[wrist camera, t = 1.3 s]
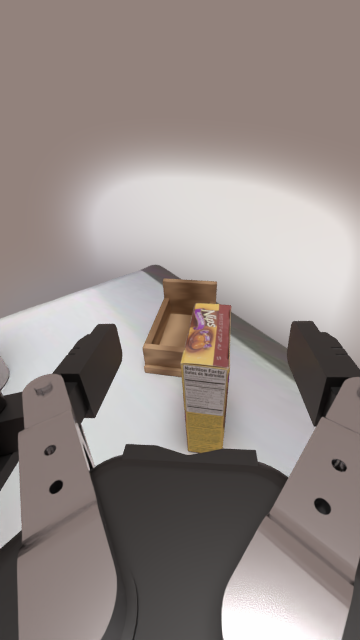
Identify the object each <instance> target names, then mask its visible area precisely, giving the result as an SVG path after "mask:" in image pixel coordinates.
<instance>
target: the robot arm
mask: <svg viewBox="0 0 360 640" xmlns="http://www.w3.org/2000/svg"><path fill="white" fill-rule="evenodd" d="M287 360H288V364H289V367H290V369H291V372H292V374H293V377H294V379H295V381H296V384H297V386H298V389H299V391H300V394H301V396H302V399H303V401H304V403H305V406H306V408H307V411H308V413H309V416H310V418H311V421H312V423H313V425H314V426H316V428H315V430H314V432H313V434H312V436H311V438H310V439H309V441H308V443H307V445H306V447H305V449H304V450H303V452H302V454H301V456H300V458H299V460H298V461H297V463H296V465H295V467H294V469H293V471H292V472H291V474H290V476H289V478H288V477H287V476H286V475H284V474H283V473H281V472H280V471H278V470H276V469H275V468H273V467H271V466H268V465H266V464H264V463H261V462H258V461H257V455H256V450H240V449H218V450H213V451H208V452H203V453H198V454H193V455H185V454H182V453H178V452H175V451H172V450H169V449H166V448H163V447H159V446H155V445H134V444H126V446H125V449H124V452H123V455H120V456H116V457H113V458H111V459H108V460H106V461H104V462H102V463H101V464H99V465H97V466H96V467H95V465H94V462H93V459H92V456H91V453H90V449H89V446H88V443H87V440H86V437H85V434H84V431H83V428H82V425H81V423H82V421H83V419H84V418H95V417H96V415H97V413H98V411H99V408H100V406H101V404H102V402H103V400H104V398H105V396H106V394H107V392H108V390H109V387H110V385H111V383H112V381H113V379H114V377H115V375H116V373H117V371H118V369H119V366H120V364H121V362H122V349H121V344H120V340H119V336H118V332H117V328H116V325H115V324H98V325H97V326H96V327H95V329H94V330H93V331H92V332H91V334H87V335H86V336H85V337H83V338H82V339H80V340H79V341H78V342H77V343H76V344H75V346H74V347H73V349H71V351H70V352H69V353H68V355H67V356H66V357H65V358H64V359H63V361H62V362H61V363H60V364H59V366H58V367H57V368H56V369H55V371H54V372H53V373H52V374H48V375H44V376H41V377H38V378H36V379H35V380H33V381H31V382H30V383H29V384H28V385H27V386H26V387H25V388H24V390H23V392H19V393H14V394H10V395H5V396H3V395H2V393H1V391H0V491H1V489H2V487H3V486H4V484H5V482H6V481H7V479H8V477H9V476H10V474H11V473H12V471H13V469H14V468H15V466H16V464H17V463H18V461H19V473H20V497H21V521H22V530H21V531H20V532H19V533H18V534H17V535H16V536H14V537H13V538H12V539H11V540H10V541H9V542H8V543H6V544H5V545H4V546H3V547H2V548H1V549H0V640H360V369H359V368H358V367H357V365H356V364H355V363H354V361H353V360H352V359H351V358H350V356H348V354H347V352H346V351H345V350H344V349H343V347H342V346H341V344H340V343H339V342H338V340H337V339H336V338H334V337H332V336H331V335H329V334H328V333H326V332H320V331H319V330H318V328H317V327H316V325H315V324H314V322H313V321H293V322H292V324H291V330H290V336H289V343H288V349H287ZM8 377H9V369H8V367H7V366H6V364H5V363H4V361H3V359H2V358H1V356H0V389H1V388H2V387H3V386H4V384H5V383H6V381H7V379H8Z"/></svg>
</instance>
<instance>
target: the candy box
mask: <svg viewBox="0 0 360 640" xmlns="http://www.w3.org/2000/svg"><path fill="white" fill-rule="evenodd" d="M230 323H231V305H220V304H204V303H196V304H195V305H194V309H193V313H192V317H191V321H190V325H189V331H188V334H187V338H186V343H185V347H184V351H183V355H182V360H181V374H182V385H183V398H184V409H185V421H186V433H187V444H188V451H192V452H198V453H203V452H208V451H213V450H218V449H222V448H223V438H224V428H225V417H226V406H227V394H228V383H229V372H230Z"/></svg>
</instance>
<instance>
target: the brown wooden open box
mask: <svg viewBox="0 0 360 640" xmlns="http://www.w3.org/2000/svg"><path fill="white" fill-rule="evenodd" d="M163 289H164V300H163V302H162V304H161V307H160V309H159V311H158V314H157V316H156V318H155V321H154V323H153V325H152V327H151V330H150V332H149V334H148V337H147V339H146V341H145V343H144V346H143V353H144V359H145V366H144V369H145V372H146V373H154V374H162V375H170V376H178V377H182V374H181V360H182V355H183V351H184V347H185V343H186V338H187V334H188V331H189V325H190V321H191V317H192V313H193V309H194V305H195V304H196V303H204V304H216V290H217V282H214V281H196V280H179V279H164V280H163Z"/></svg>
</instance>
